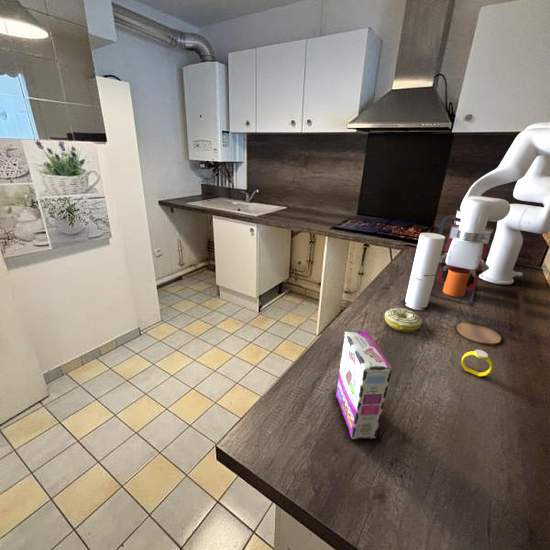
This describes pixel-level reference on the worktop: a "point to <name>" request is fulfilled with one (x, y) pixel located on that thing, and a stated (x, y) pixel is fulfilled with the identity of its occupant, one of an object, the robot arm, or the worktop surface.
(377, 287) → the worktop surface
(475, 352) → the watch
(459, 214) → the coffee press
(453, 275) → the cup
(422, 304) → the cylindrical container
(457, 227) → the coffee maker
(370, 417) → the candy bar box
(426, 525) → the worktop surface
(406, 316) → the decorated donut
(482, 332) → the coaster
